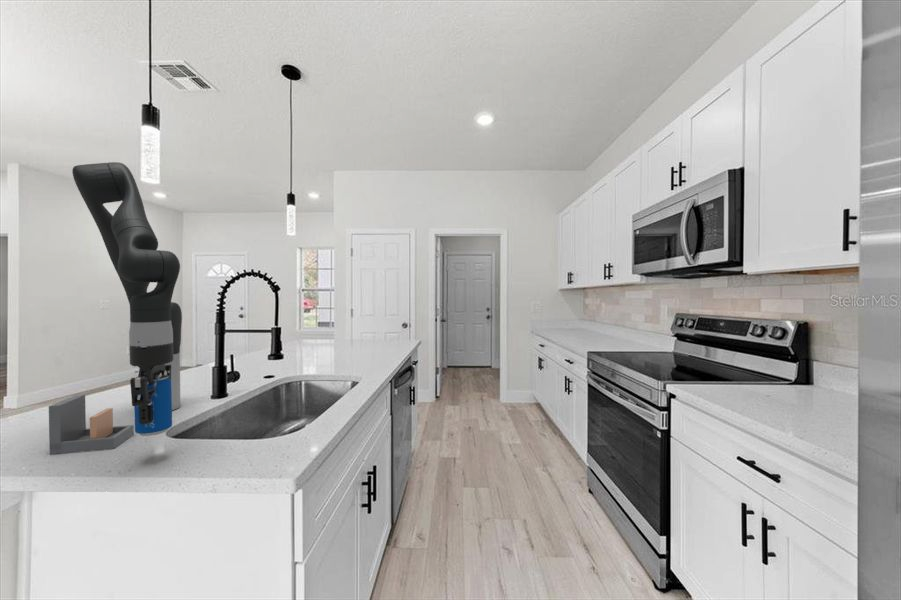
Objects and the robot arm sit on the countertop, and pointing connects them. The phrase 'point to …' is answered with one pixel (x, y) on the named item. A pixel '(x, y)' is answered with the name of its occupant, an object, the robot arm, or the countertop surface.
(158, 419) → the beverage can
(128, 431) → the grey bracket
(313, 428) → the countertop surface
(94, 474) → the countertop surface
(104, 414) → the thin tan plate
